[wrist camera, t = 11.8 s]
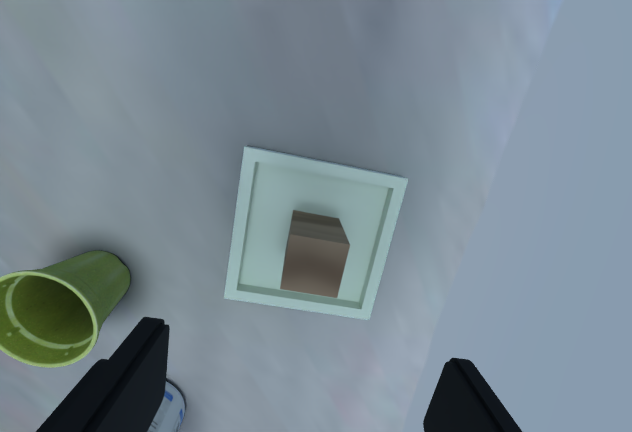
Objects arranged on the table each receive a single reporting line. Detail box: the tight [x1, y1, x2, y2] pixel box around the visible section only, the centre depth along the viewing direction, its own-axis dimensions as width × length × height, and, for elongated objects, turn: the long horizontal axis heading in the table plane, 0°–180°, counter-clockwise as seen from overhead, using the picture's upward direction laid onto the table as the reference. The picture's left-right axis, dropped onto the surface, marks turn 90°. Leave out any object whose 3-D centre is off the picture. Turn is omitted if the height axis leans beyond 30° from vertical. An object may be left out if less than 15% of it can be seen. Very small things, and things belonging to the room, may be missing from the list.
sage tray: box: [224, 146, 408, 320], centre depth 33 cm, size 16×16×2 cm
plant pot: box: [0, 251, 130, 368], centre depth 30 cm, size 9×9×9 cm
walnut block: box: [280, 210, 350, 298], centre depth 29 cm, size 5×5×8 cm
